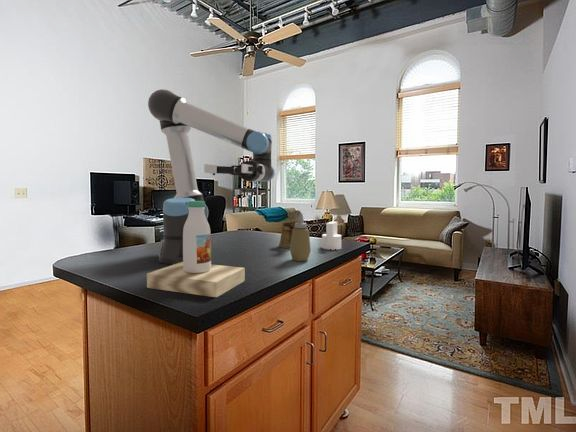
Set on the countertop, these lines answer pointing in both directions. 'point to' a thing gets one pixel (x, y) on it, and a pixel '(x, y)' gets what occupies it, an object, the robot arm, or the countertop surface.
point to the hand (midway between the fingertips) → (223, 168)
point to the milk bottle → (196, 240)
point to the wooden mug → (288, 230)
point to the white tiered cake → (331, 237)
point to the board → (196, 280)
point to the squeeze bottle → (300, 241)
